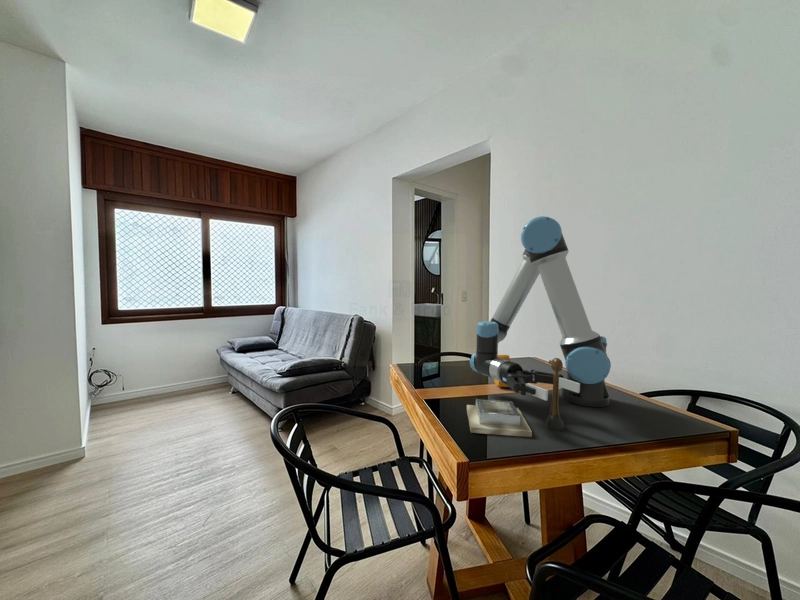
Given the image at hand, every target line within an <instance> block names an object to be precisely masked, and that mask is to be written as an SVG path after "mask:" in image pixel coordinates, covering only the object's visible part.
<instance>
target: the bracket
mask: <svg viewBox="0 0 800 600" xmlns="http://www.w3.org/2000/svg"><path fill="white" fill-rule="evenodd" d="M497 357H498V358H501V359H505V360H508V361H511V358H510V355H509V354H498V355H497ZM493 382H494V384H495V385H496V387H498V388H503V387H504V388H510V387H509V386H508V385H507V384H505V383H503V382H499V381H498V380H496V379H493Z"/></svg>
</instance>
